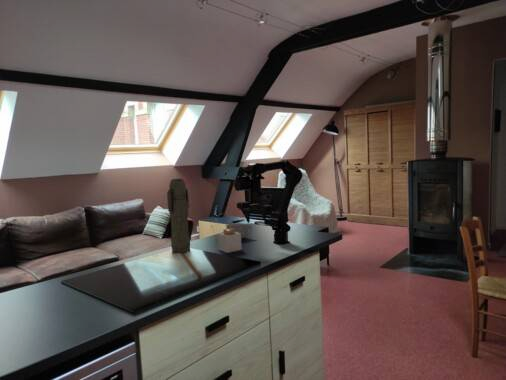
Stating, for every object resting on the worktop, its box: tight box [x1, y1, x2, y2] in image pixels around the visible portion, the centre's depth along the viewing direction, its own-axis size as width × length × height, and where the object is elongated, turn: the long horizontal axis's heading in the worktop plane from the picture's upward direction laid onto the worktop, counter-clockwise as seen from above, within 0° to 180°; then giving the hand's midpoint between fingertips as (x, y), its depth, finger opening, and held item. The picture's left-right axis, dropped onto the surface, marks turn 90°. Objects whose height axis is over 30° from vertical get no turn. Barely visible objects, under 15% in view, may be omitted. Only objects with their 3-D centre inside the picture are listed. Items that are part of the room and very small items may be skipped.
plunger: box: [222, 228, 235, 234], centre depth 186 cm, size 6×6×7 cm
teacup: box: [225, 222, 253, 240], centre depth 210 cm, size 14×11×8 cm
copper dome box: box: [217, 232, 242, 254], centre depth 187 cm, size 8×10×8 cm
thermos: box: [166, 178, 191, 254], centre depth 185 cm, size 9×12×35 cm
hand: (256, 221), depth 187 cm, fingers open, 9 cm apart
